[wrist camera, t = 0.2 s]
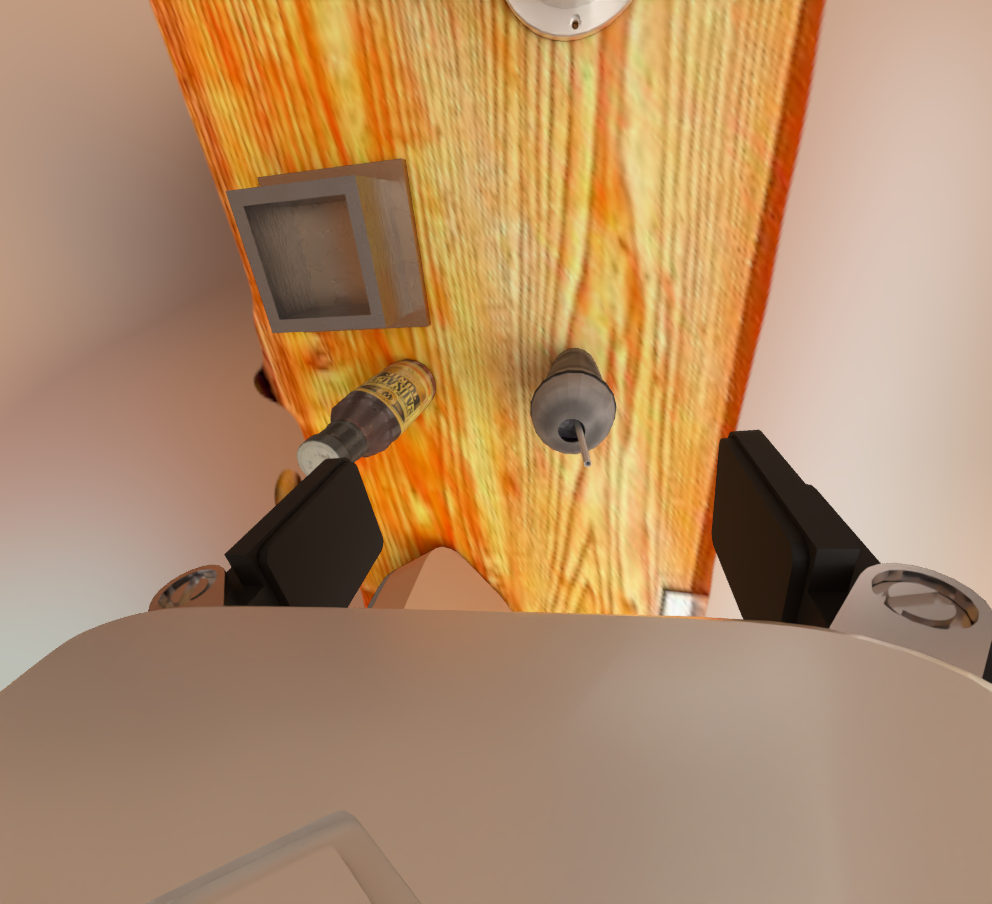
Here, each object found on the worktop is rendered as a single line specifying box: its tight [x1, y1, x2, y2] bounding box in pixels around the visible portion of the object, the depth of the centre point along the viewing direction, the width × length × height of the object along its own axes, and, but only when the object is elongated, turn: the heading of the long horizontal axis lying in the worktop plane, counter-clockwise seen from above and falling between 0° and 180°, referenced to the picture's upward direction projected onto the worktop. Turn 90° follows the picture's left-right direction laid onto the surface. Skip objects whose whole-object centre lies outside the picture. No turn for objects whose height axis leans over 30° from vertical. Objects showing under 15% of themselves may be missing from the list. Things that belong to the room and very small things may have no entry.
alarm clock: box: [367, 547, 512, 612], centre depth 56 cm, size 21×10×22 cm, turn 39°
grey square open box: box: [226, 159, 431, 333], centre depth 41 cm, size 15×15×8 cm
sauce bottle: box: [297, 359, 436, 476], centre depth 42 cm, size 7×6×20 cm
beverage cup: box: [531, 348, 616, 467], centre depth 38 cm, size 7×7×20 cm
